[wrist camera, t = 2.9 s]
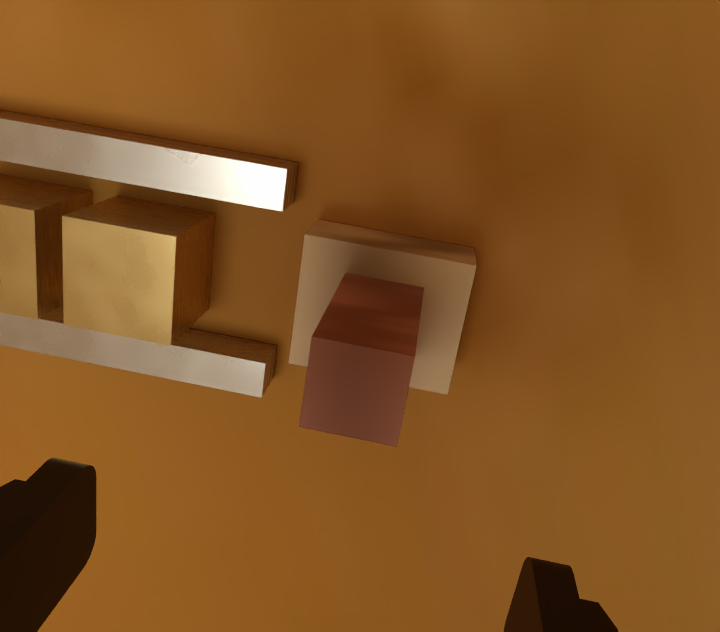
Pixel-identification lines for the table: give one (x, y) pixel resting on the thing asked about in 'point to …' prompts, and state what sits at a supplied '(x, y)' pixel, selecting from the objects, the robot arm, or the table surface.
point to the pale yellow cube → (136, 268)
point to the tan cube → (33, 243)
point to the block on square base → (375, 325)
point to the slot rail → (160, 171)
